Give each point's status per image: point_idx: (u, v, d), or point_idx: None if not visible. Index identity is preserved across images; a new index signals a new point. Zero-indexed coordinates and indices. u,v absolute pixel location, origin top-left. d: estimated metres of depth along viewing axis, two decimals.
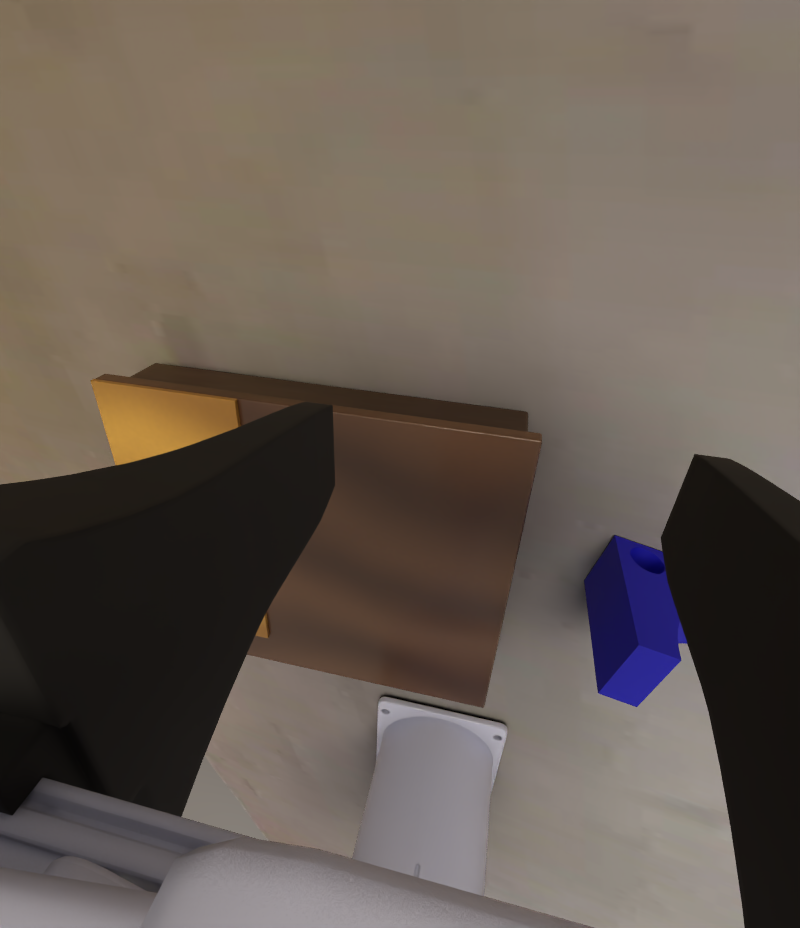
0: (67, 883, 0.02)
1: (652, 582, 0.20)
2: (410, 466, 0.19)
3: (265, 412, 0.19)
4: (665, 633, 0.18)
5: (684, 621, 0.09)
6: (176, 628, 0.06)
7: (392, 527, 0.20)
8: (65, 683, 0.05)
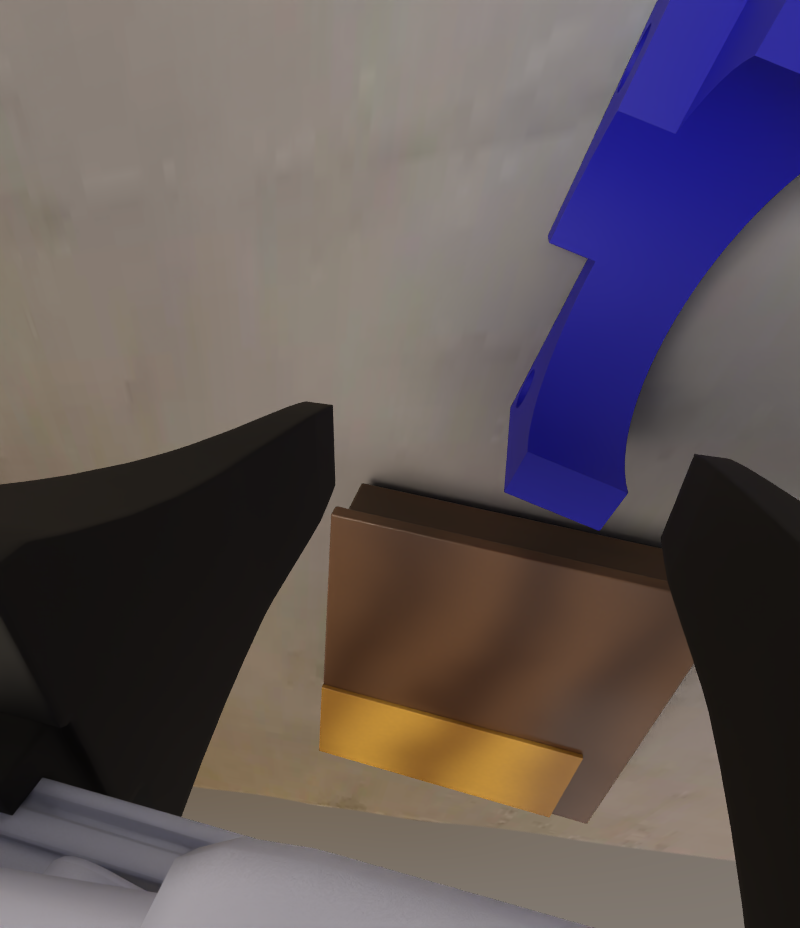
0: (67, 883, 0.02)
1: (524, 405, 0.17)
2: (366, 602, 0.22)
3: (331, 672, 0.25)
4: (522, 444, 0.15)
5: (684, 621, 0.09)
6: (176, 628, 0.06)
7: (431, 627, 0.22)
8: (65, 683, 0.05)
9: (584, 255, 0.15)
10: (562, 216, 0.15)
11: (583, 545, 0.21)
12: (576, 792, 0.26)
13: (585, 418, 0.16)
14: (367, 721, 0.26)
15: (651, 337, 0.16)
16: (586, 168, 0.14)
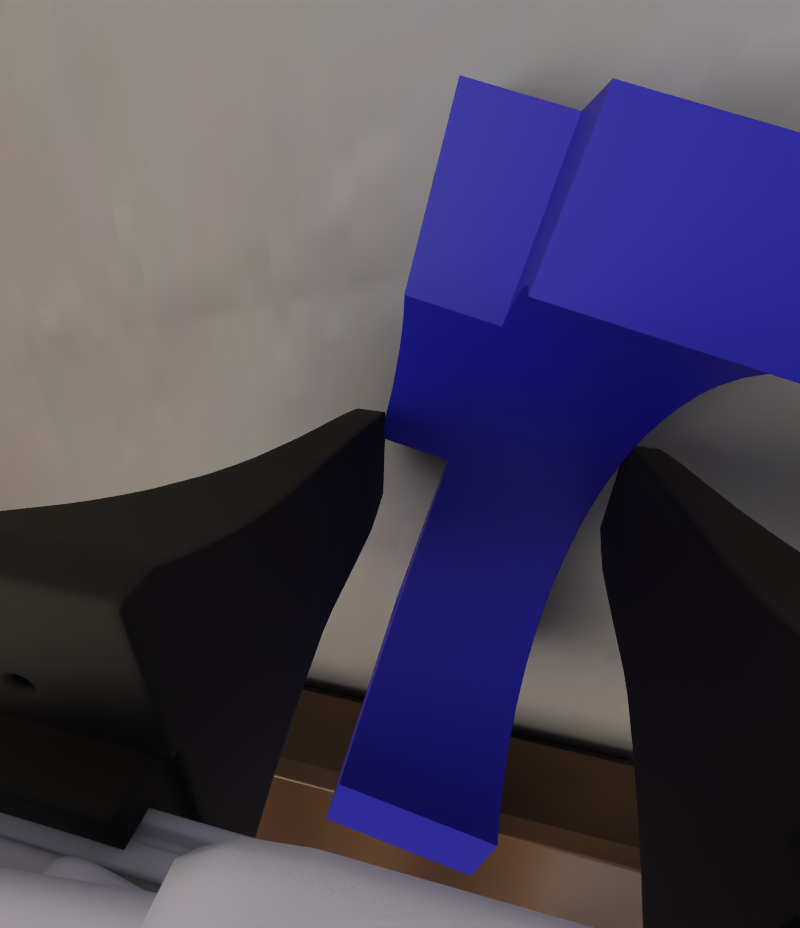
0: (66, 883, 0.02)
1: (386, 635, 0.12)
2: None
3: None
4: (352, 740, 0.10)
5: (613, 607, 0.09)
6: (260, 647, 0.06)
7: None
8: (176, 713, 0.04)
9: (432, 453, 0.10)
10: (389, 405, 0.10)
11: (514, 768, 0.16)
12: None
13: (451, 684, 0.11)
14: None
15: (545, 557, 0.11)
16: (400, 352, 0.09)
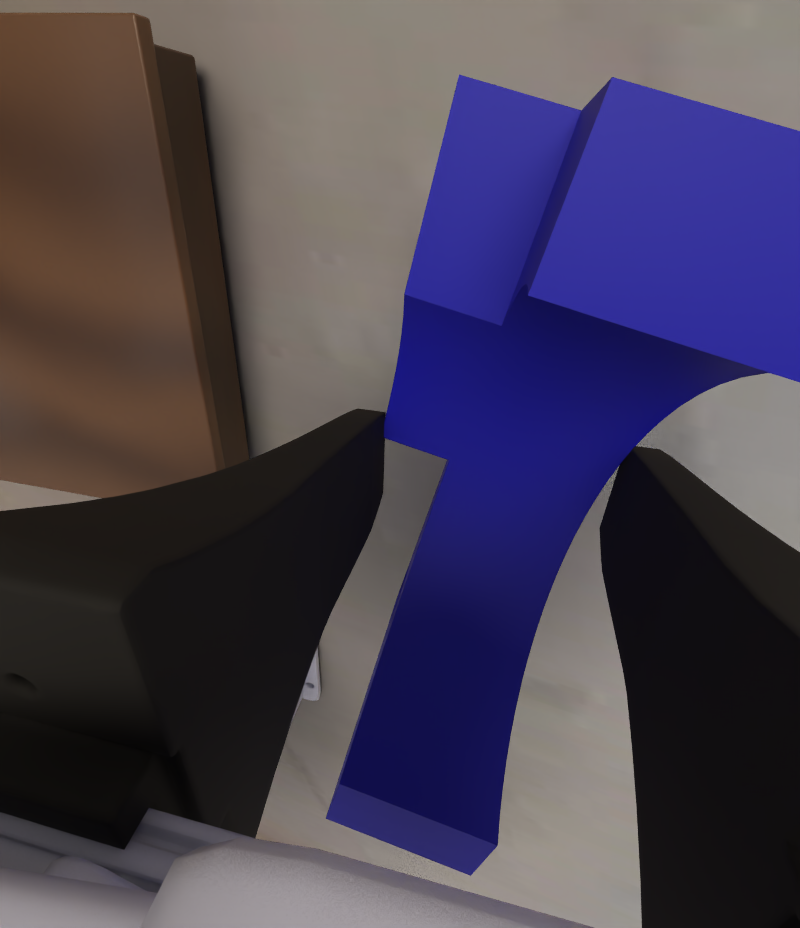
0: (66, 883, 0.02)
1: (386, 635, 0.12)
2: (3, 100, 0.14)
3: None
4: (352, 739, 0.10)
5: (612, 607, 0.09)
6: (260, 647, 0.06)
7: (23, 221, 0.15)
8: (176, 712, 0.04)
9: (432, 452, 0.10)
10: (389, 405, 0.10)
11: (225, 380, 0.19)
12: None
13: (451, 685, 0.11)
14: None
15: (545, 556, 0.11)
16: (400, 352, 0.09)
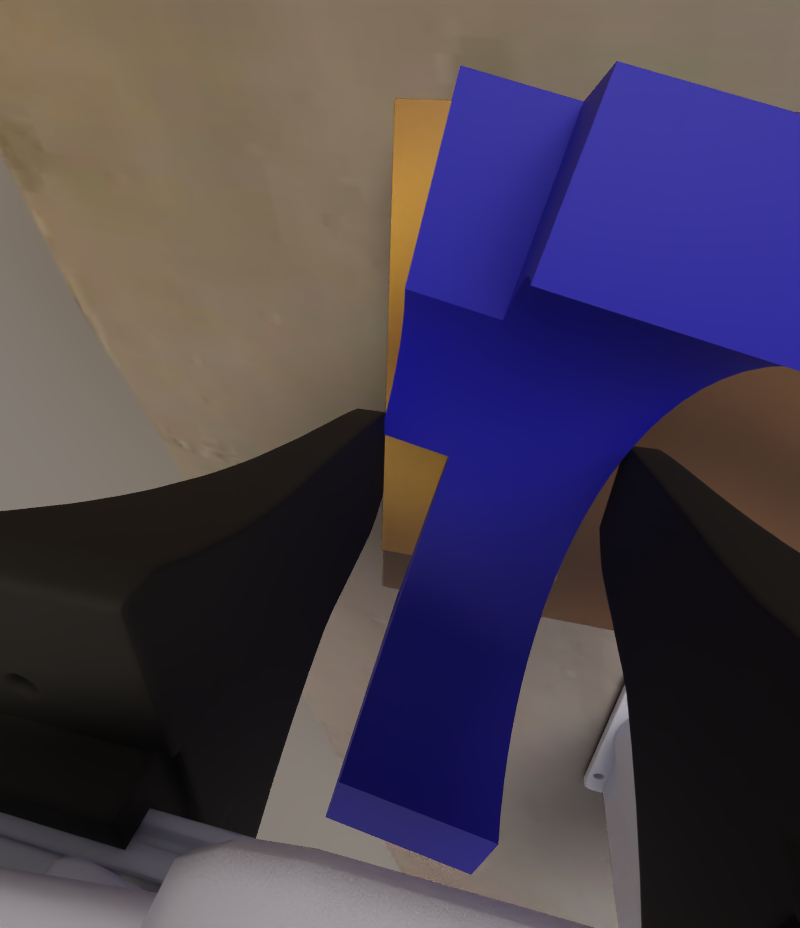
0: (66, 883, 0.02)
1: (386, 632, 0.12)
2: None
3: None
4: (352, 738, 0.10)
5: (612, 607, 0.09)
6: (260, 647, 0.06)
7: None
8: (177, 712, 0.04)
9: (432, 449, 0.10)
10: (390, 401, 0.10)
11: None
12: None
13: (452, 682, 0.11)
14: None
15: (546, 554, 0.11)
16: (400, 348, 0.09)
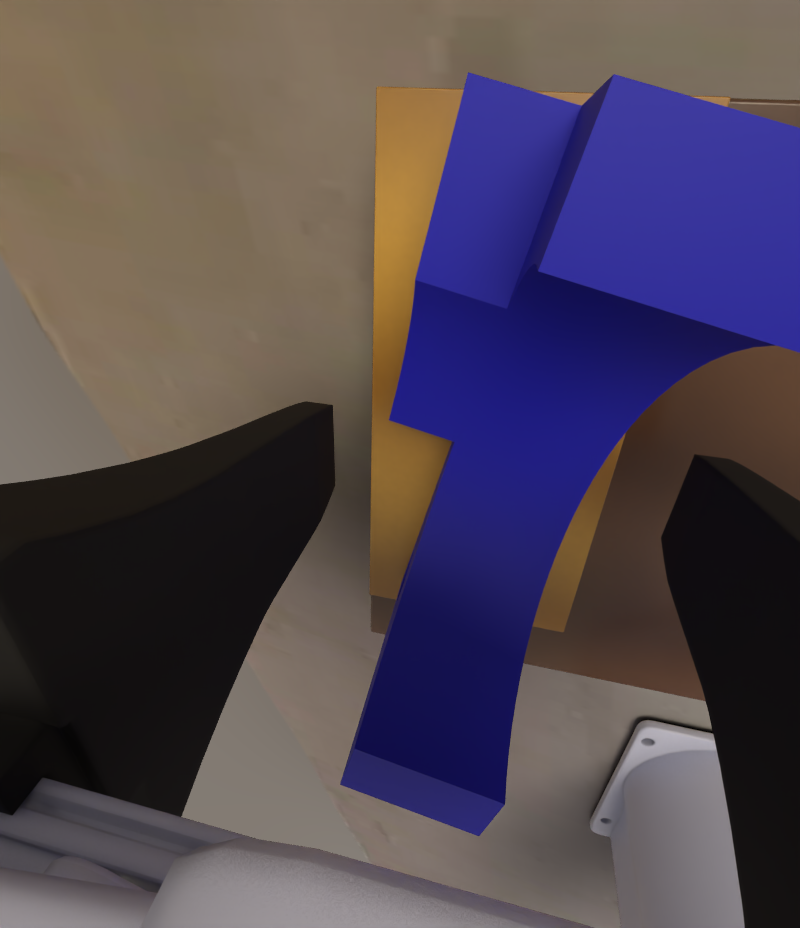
0: (67, 883, 0.02)
1: (394, 613, 0.13)
2: None
3: None
4: (364, 709, 0.11)
5: (684, 621, 0.09)
6: (176, 628, 0.06)
7: None
8: (64, 684, 0.05)
9: (438, 435, 0.11)
10: (397, 389, 0.11)
11: None
12: None
13: (458, 657, 0.11)
14: None
15: (547, 534, 0.11)
16: (409, 337, 0.10)
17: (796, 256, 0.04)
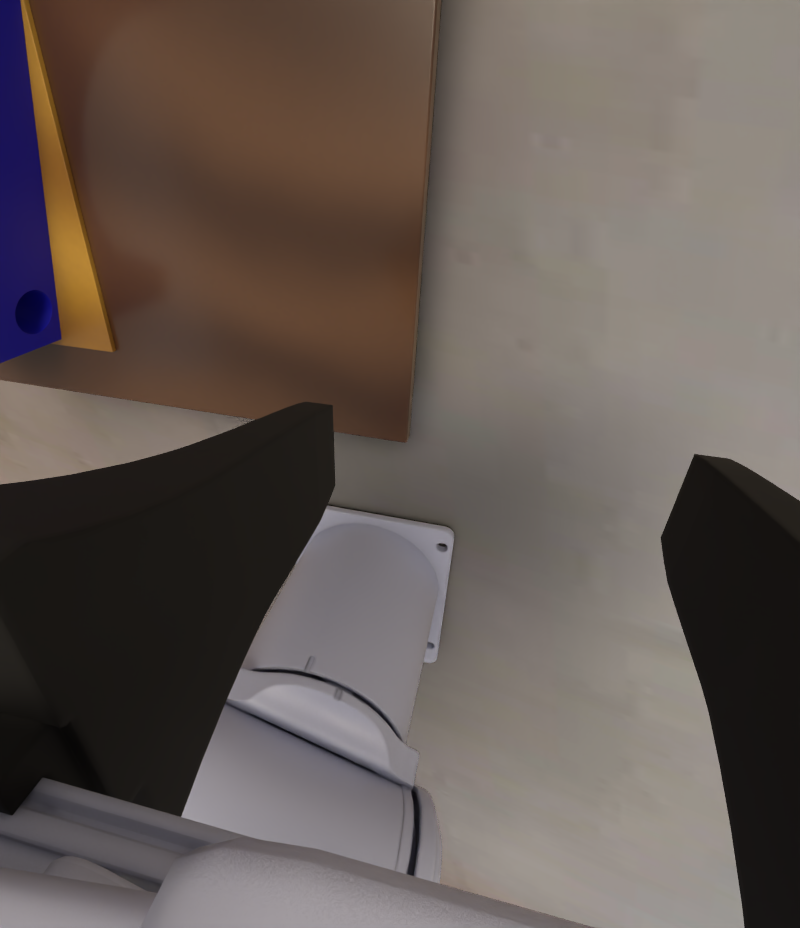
0: (67, 883, 0.02)
1: None
2: None
3: None
4: None
5: (683, 621, 0.09)
6: (176, 628, 0.06)
7: (245, 75, 0.13)
8: (65, 683, 0.05)
9: None
10: None
11: None
12: (45, 357, 0.19)
13: None
14: None
15: None
16: None
17: None
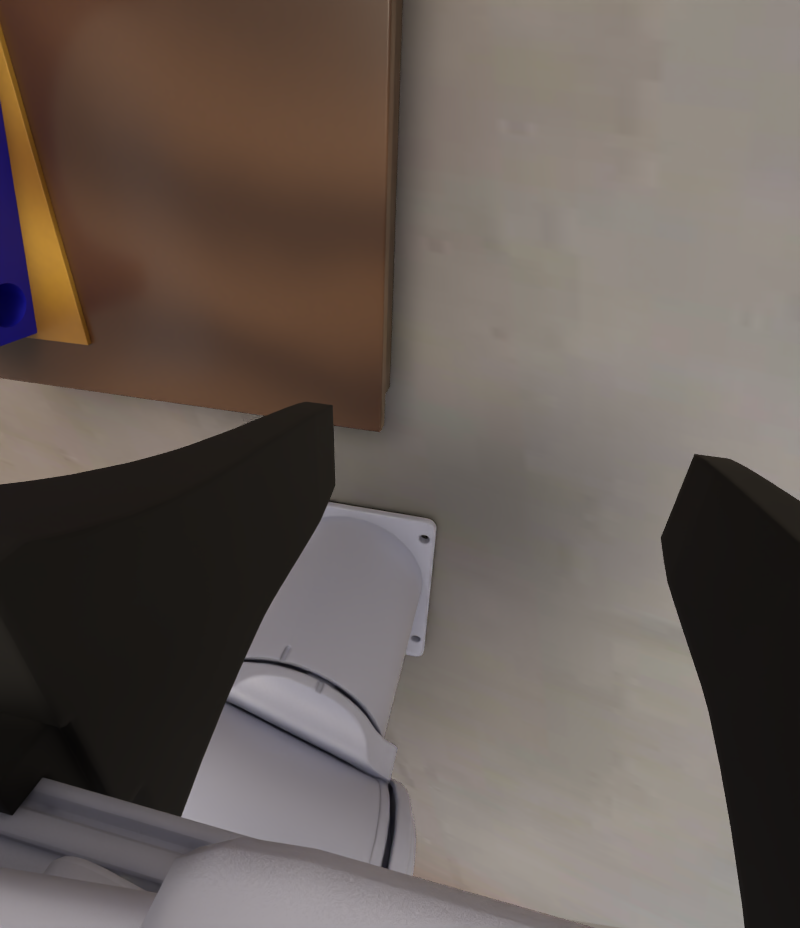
0: (67, 883, 0.02)
1: None
2: None
3: None
4: None
5: (684, 621, 0.09)
6: (176, 628, 0.06)
7: (206, 63, 0.13)
8: (64, 684, 0.05)
9: None
10: None
11: None
12: (22, 351, 0.20)
13: None
14: None
15: None
16: None
17: None
